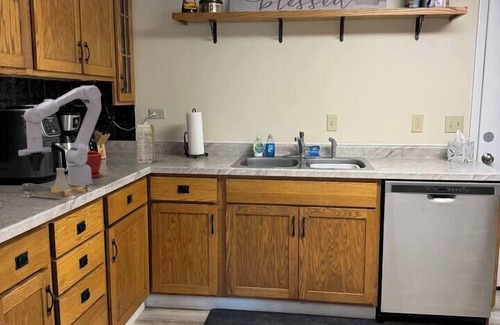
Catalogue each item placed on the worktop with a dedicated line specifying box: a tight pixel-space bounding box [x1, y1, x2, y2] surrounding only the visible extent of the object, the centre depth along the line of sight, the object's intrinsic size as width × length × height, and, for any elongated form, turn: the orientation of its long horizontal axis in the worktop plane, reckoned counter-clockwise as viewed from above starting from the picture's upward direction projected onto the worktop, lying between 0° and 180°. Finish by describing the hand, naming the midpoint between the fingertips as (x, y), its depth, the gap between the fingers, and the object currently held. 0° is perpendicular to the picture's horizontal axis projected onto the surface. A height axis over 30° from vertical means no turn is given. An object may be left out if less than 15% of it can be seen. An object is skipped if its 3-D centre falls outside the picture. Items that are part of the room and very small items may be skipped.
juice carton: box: [136, 122, 156, 165], centre depth 272 cm, size 9×8×24 cm
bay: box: [42, 183, 89, 198], centre depth 187 cm, size 13×10×2 cm
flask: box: [53, 167, 70, 191], centre depth 187 cm, size 7×7×10 cm
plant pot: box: [85, 150, 102, 179], centre depth 223 cm, size 13×13×12 cm
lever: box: [21, 182, 61, 193], centre depth 178 cm, size 16×4×2 cm, turn 71°
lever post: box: [21, 190, 35, 198], centre depth 180 cm, size 4×4×3 cm
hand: (36, 171), depth 191 cm, fingers closed
